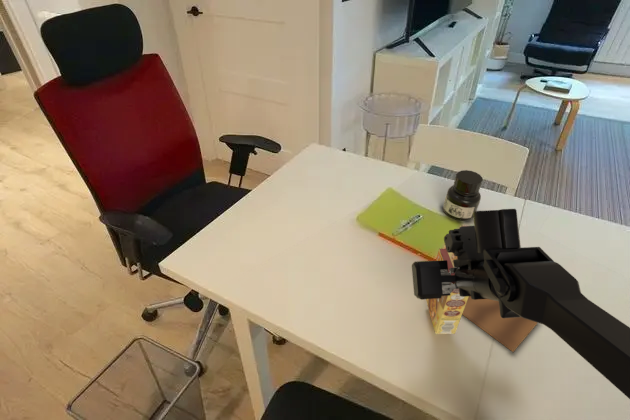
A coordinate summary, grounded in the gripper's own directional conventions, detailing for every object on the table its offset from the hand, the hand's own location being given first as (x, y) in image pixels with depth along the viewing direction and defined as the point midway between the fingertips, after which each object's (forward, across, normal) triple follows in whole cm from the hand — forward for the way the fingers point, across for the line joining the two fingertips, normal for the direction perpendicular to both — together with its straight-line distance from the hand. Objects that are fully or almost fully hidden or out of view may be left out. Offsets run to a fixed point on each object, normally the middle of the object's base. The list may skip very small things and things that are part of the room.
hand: (448, 274), depth 71 cm
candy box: (+7, 0, +9) cm, 11 cm away
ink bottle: (+34, -18, -15) cm, 41 cm away
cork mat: (+10, -12, +9) cm, 18 cm away
